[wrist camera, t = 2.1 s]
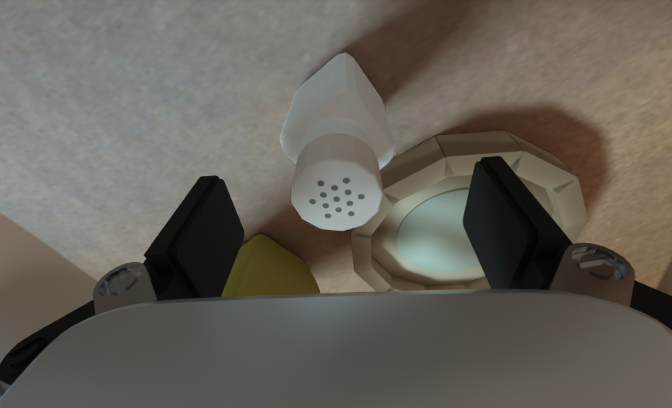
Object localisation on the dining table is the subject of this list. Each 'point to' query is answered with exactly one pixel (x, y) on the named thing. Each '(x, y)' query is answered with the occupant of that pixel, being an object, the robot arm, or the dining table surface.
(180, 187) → the dining table surface
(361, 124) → the pepper shaker
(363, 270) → the tray
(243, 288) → the flower pot
